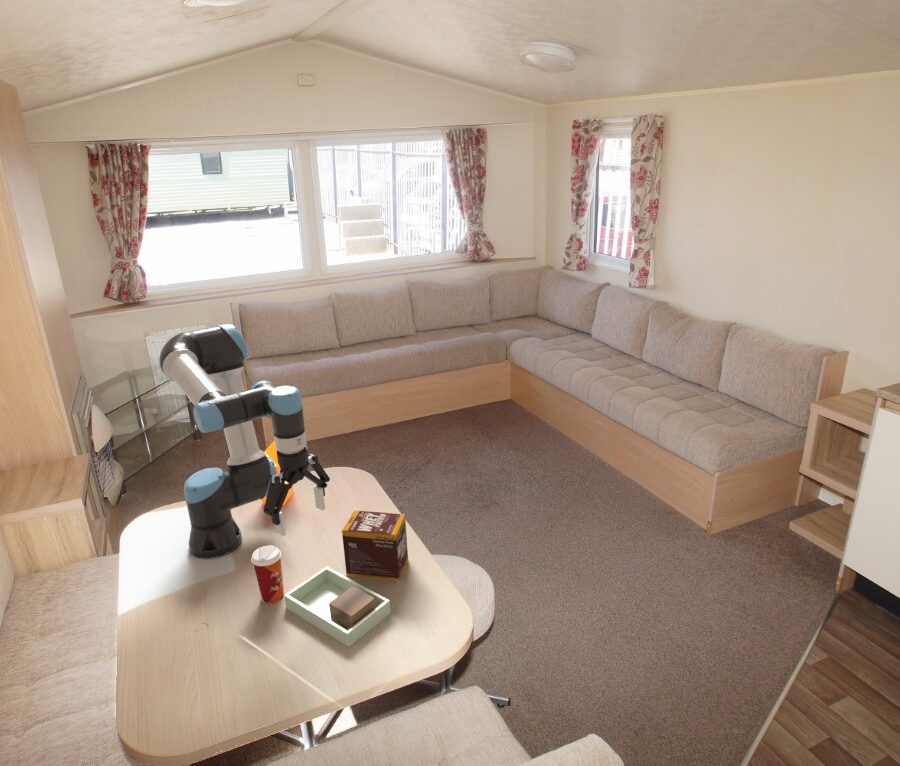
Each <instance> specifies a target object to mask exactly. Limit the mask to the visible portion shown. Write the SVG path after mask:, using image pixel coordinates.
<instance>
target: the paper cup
mask: <svg viewBox="0 0 900 766" xmlns="http://www.w3.org/2000/svg"><path fill="white" fill-rule="evenodd" d="M281 557H282V552H281V550H280V549H279V548H278V547H277V546H274V545H268V544H267V545H263V546H259V547H258V548H256V549H255V550H254V551H253V553H252V555H251V559H250V562H251V563H252V564H253V569H254V571H255V577H256V580H257V585H258V588H259V591H260V596H261V599H262V601H263V602H264V603H265V604H275V603H278V602H279V601H281V600H282V599H283V598H284V581H283V573H282V570H283V569H282V559H281Z"/></svg>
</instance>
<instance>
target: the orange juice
mask: <svg viewBox="0 0 900 766" xmlns="http://www.w3.org/2000/svg"><path fill="white" fill-rule="evenodd" d="M276 451H277V450H276V447H275V439H274V440H273V441H272V442H271V443H270V445H269V446H268V447H267V448H266V449H265V450H264V452H265V453H266V456H267V457H270V458H272V459H273V461H274V464H275V466H276V470H277V474H278V473H279V472H280V466H279V464H278V460H277V453H276ZM285 484H288V482H286V481H285ZM293 486H294V485H293ZM293 486H292V488H291V489H289V491H288V494H287V496H286V499H285V501H284V503H283V506H285V504H286V503H287V501H288V500H289V499H290V498H291V496H292V495H293V493H294V487H293ZM265 502H266V497H264V498H263V499H261V504H262V505H265Z"/></svg>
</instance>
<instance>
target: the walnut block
mask: <svg viewBox="0 0 900 766" xmlns="http://www.w3.org/2000/svg"><path fill="white" fill-rule="evenodd" d="M329 607H330V614H331V621H332V622H334V623H336V624H337V625H339V626H341V627H342V628H344V629H346V630H347V631H348V630H349V629H350V628H352V627H353V626H354V625H355V624H357V623H358V622H359V621H360V620H362V619H363V618H364V617H365V616H367V615H368V614H369V613H370V612H372V611H373V610H374V609H376V605H375V598H374V597H372V596H370V595H368V594H366V593H364V592H363V591H361V590H359V589H357V588H355V587H353V586H352V587H350V588H349V589H348V590H346V591H345V592H344V593H342V594H341V595H340V596H338V597H337V598H335V599H334V600H333V601H331V602H330V603H329Z"/></svg>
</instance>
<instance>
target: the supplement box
mask: <svg viewBox="0 0 900 766" xmlns="http://www.w3.org/2000/svg"><path fill="white" fill-rule="evenodd" d="M341 535H342V544H343V554H344V564H345V572H346V573H345V574H346V576H345V577H349V578H350V577H352V578H360V579H361V578H362V579H373V580H380V581H381V580H383V581H390V582H391V581H392V582H400V580H401V577H403V575H404V572H405V570H406V567H407V565H408V562H409V553H408V536H407V523H406V514H405V513H392V512H381V511H379V512H378V511H370V510H369V511H368V510H367V511H366V510H354V511H353V513H352V514H351V515H350V517H349V519H348V521H347V522H346V524H345V525H344V527H343V528H342V530H341Z"/></svg>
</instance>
